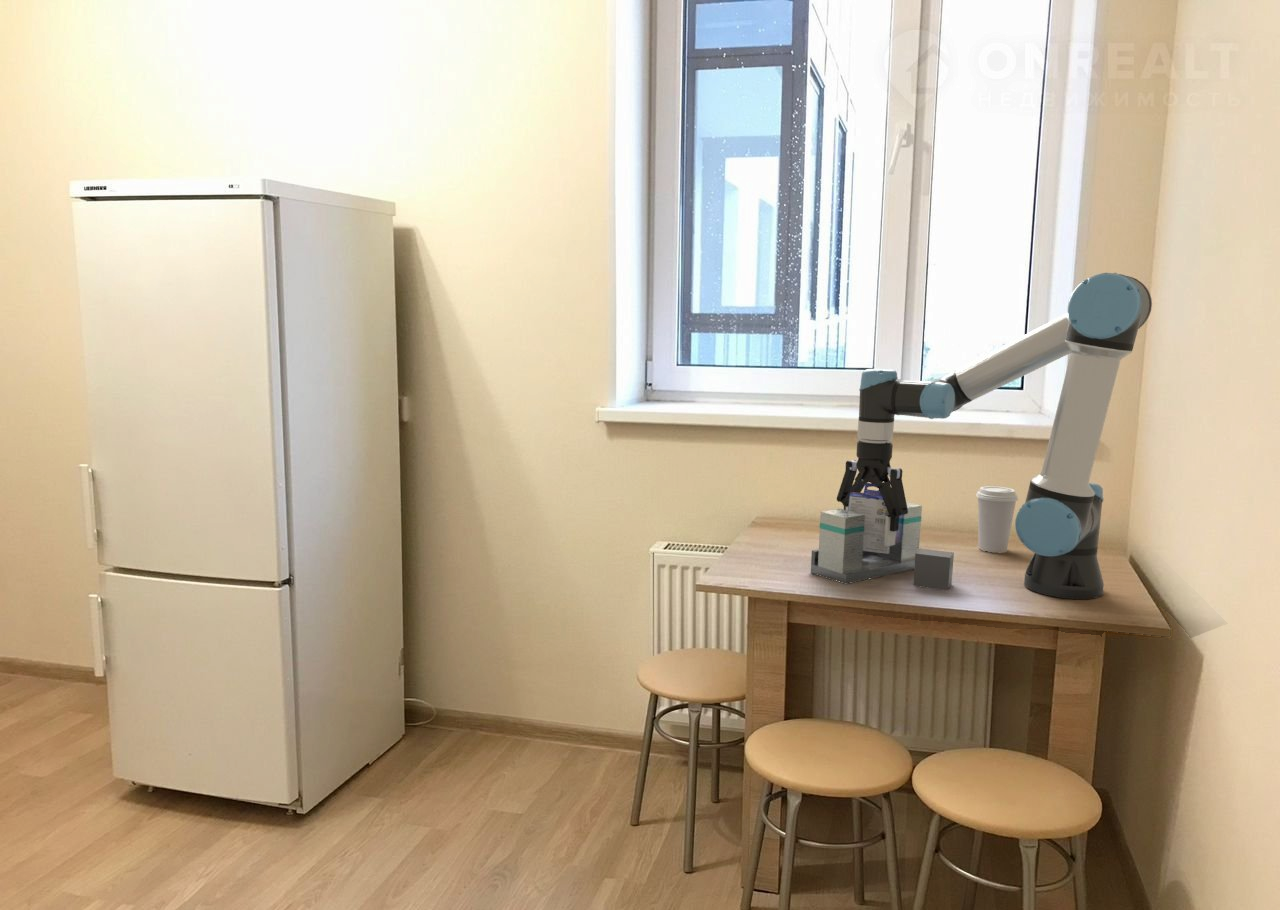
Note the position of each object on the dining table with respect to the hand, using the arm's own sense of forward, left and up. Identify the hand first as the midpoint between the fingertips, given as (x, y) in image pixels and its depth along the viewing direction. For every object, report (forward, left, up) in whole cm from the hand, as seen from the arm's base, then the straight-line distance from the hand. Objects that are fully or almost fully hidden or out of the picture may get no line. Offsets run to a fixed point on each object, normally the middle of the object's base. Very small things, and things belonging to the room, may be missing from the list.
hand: (869, 539), depth 209 cm
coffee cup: (-4, -41, -7) cm, 42 cm away
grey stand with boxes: (0, 0, -7) cm, 7 cm away
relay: (-15, -3, -7) cm, 17 cm away
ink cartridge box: (0, 0, -2) cm, 2 cm away
